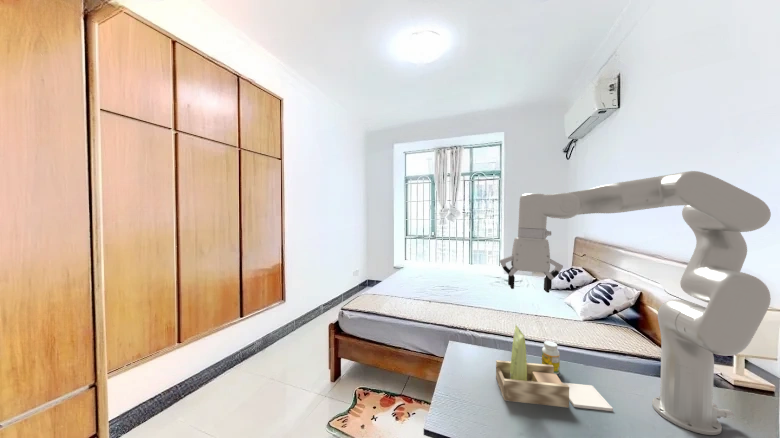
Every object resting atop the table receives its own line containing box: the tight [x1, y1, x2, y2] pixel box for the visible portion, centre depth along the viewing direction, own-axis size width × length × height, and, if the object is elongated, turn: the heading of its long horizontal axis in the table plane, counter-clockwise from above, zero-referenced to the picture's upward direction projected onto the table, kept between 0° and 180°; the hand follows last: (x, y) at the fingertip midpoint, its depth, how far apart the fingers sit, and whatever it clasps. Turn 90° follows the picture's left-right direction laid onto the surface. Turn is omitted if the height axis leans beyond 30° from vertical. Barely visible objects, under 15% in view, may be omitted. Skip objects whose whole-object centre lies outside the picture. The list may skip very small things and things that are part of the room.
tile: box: [562, 382, 614, 412], centre depth 80 cm, size 10×10×1 cm
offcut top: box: [532, 371, 564, 384], centre depth 81 cm, size 7×6×2 cm
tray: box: [495, 359, 570, 408], centre depth 82 cm, size 18×11×6 cm, turn 80°
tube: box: [510, 323, 528, 381], centre depth 83 cm, size 6×5×20 cm
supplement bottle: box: [541, 340, 561, 375], centre depth 93 cm, size 5×5×10 cm
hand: (528, 289), depth 81 cm, fingers open, 9 cm apart
